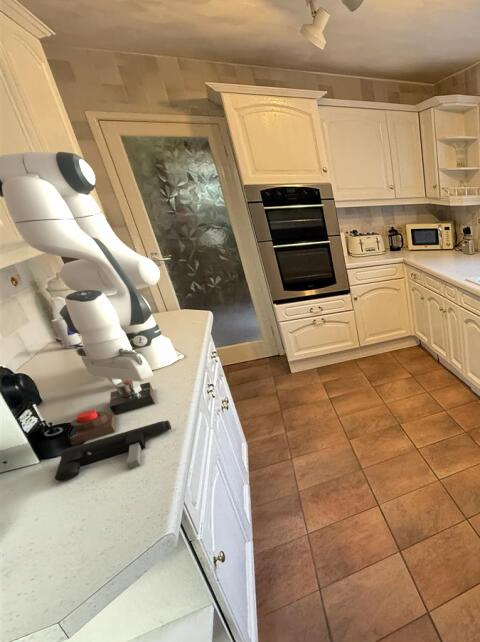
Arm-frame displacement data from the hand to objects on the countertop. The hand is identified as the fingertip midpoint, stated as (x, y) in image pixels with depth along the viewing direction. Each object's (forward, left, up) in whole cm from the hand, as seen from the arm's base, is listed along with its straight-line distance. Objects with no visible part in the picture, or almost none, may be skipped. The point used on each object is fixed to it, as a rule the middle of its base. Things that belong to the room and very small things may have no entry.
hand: (129, 390), depth 117 cm
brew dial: (0, 0, -1) cm, 1 cm away
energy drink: (-85, -19, -4) cm, 87 cm away
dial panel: (0, 0, -4) cm, 4 cm away
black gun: (+33, -3, -4) cm, 33 cm away
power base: (+13, -8, -4) cm, 16 cm away
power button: (+13, -8, 0) cm, 15 cm away
